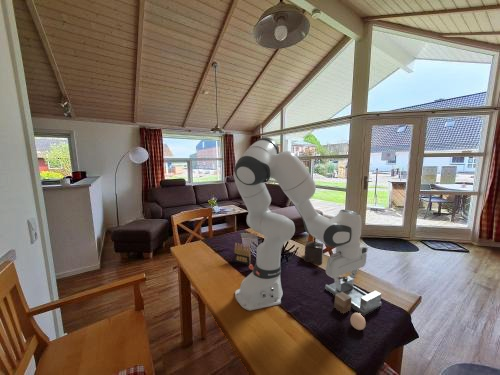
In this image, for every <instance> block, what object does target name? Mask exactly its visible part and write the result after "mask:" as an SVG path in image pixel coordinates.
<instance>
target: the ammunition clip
mask: <svg viewBox="0 0 500 375" xmlns="http://www.w3.org/2000/svg"><path fill="white" fill-rule="evenodd" d="M233 262H236V263H240V264H243V265H246V266H247V265H248V266H249V265H250V264H252V256H251V247H250V245H247V244H244V243H243V244H242V243H239V242H235V243H234V253H233Z"/></svg>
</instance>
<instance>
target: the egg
mask: <svg viewBox="0 0 500 375" xmlns="http://www.w3.org/2000/svg"><path fill="white" fill-rule="evenodd" d="M350 324H351V326H352V327H353V328H354V329H356V330H358V331H362V330H364V329H365V328H366V324H367V323H366V319H365V316H364V317H363V316H362V315H361V314H360V313H358V312H354V313H352V314H351V315H350Z"/></svg>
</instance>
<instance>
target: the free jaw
mask: <svg viewBox="0 0 500 375" xmlns="http://www.w3.org/2000/svg"><path fill="white" fill-rule="evenodd" d="M339 280H340V281H341V282H340V285H336V291H337V292H339V293H340V292H346V291H348V290H350V289H353V286H354V284H355V283H354V280H355V278H354V279H352V278H351V277H350V275H348V276H343V277H342V278H339Z"/></svg>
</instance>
